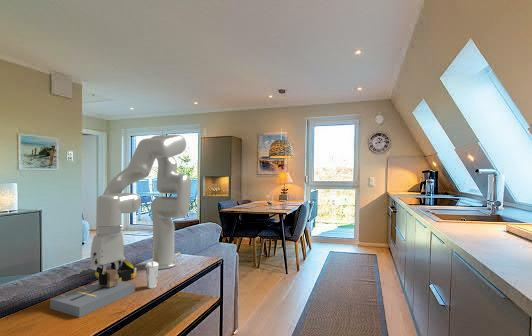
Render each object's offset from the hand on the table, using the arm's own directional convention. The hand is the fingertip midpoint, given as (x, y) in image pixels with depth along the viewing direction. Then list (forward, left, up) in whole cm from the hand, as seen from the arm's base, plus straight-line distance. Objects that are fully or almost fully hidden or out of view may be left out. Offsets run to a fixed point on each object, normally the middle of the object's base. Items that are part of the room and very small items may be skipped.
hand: (108, 282), depth 102 cm
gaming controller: (-12, -9, -5) cm, 16 cm away
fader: (0, 0, -1) cm, 1 cm away
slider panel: (+5, 0, -4) cm, 6 cm away
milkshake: (-11, +9, -4) cm, 15 cm away
